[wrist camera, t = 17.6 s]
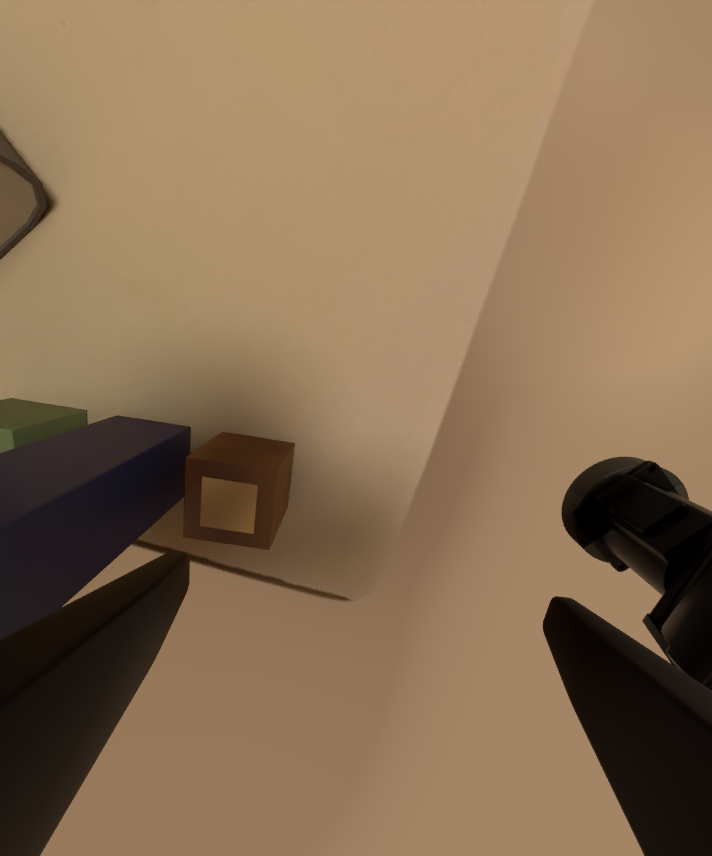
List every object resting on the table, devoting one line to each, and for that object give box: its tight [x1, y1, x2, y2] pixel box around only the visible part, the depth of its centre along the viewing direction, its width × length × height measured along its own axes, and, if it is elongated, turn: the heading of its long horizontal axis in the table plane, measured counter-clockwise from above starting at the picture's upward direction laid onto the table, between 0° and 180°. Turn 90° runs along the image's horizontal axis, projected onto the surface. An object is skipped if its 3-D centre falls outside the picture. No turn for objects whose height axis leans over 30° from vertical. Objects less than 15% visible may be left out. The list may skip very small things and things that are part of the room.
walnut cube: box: [183, 432, 295, 550], centre depth 19 cm, size 5×5×5 cm
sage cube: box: [0, 398, 87, 453], centre depth 19 cm, size 5×5×5 cm
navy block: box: [0, 416, 190, 639], centre depth 16 cm, size 5×5×12 cm
